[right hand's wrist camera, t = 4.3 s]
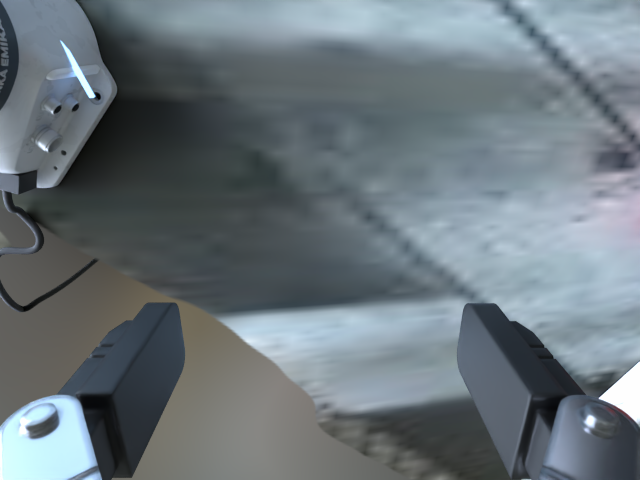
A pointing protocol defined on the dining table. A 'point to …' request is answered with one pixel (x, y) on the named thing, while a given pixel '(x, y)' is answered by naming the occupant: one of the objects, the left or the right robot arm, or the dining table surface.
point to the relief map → (626, 394)
